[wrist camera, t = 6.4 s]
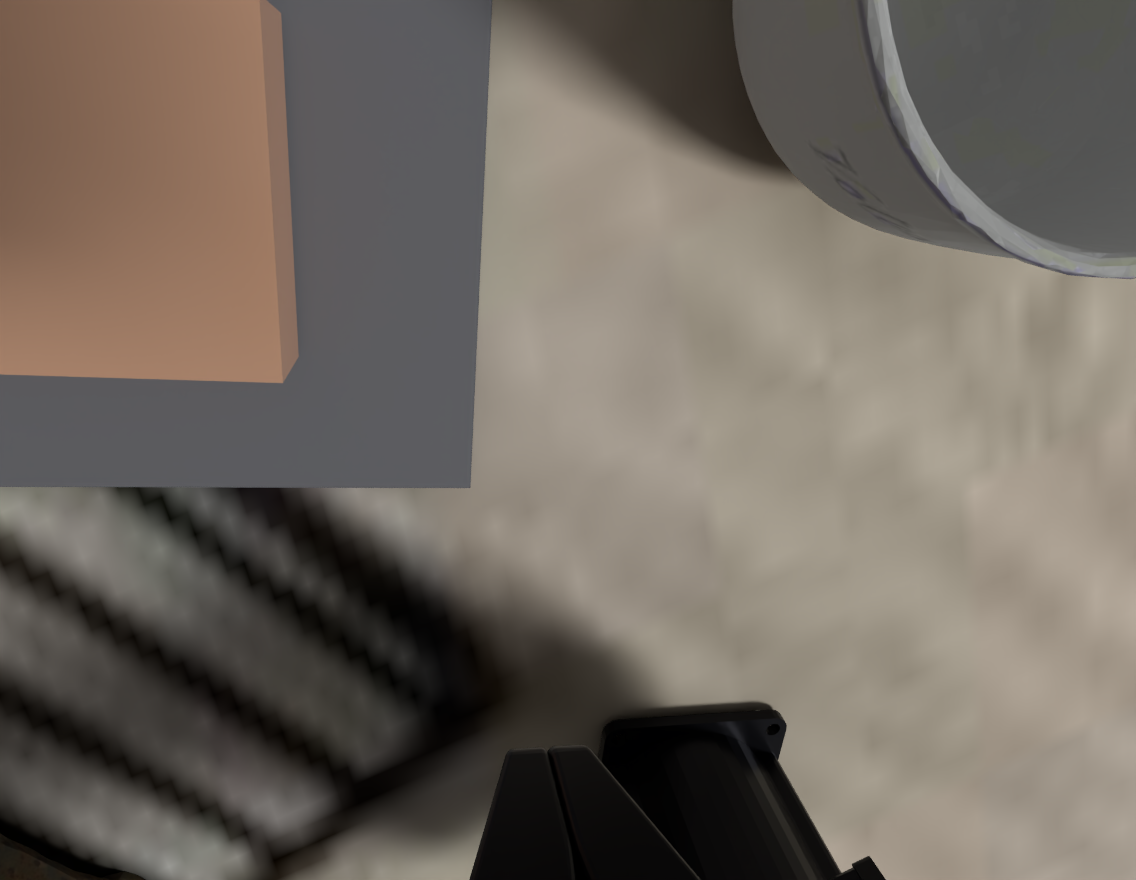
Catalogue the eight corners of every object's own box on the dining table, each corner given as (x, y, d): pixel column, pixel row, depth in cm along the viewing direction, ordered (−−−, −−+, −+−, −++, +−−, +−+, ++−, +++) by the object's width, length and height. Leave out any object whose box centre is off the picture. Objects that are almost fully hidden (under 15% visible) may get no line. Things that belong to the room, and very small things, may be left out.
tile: (259, -6, 12) (-314, -83, 11) (282, 382, 15) (-175, 368, 13) (283, 14, 14) (-196, -47, 13) (300, 354, 17) (-95, 338, 15)
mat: (496, -153, 14) (499, -165, 14) (468, 478, 19) (470, 488, 19) (-532, -342, 11) (-583, -368, 10) (-236, 474, 16) (-259, 486, 16)
